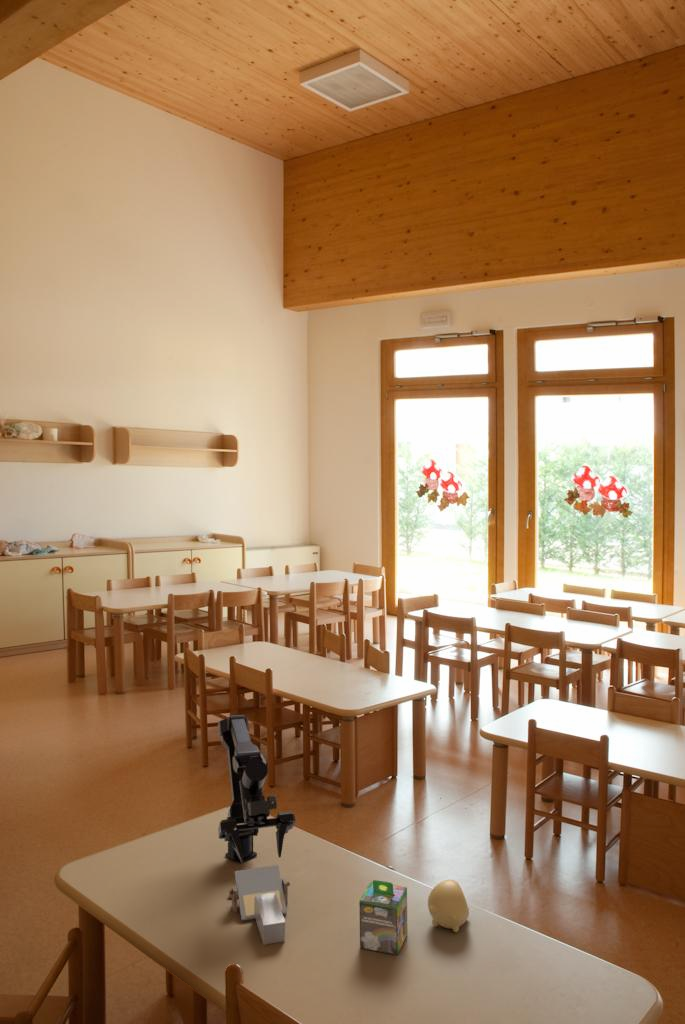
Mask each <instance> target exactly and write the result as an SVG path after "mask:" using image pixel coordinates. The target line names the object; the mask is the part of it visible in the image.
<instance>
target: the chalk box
mask: <svg viewBox="0 0 685 1024" xmlns="http://www.w3.org/2000/svg"><path fill="white" fill-rule="evenodd" d="M358 904H359V905H358V906H359V948H360V949H365V950H369V951H370V950H371V951H374V952H379V953H384V954H388V953H389V955H392V954H394V956H398V954H399V952H400V951H401V949H402V947H403V944H404V942H405V940H406V938H407V935H408V888H407V886H402V885H401V886H400V885H396V884H393V883H392V882H389V881H383V880H377V879H373V880H372V882H370V883H369V885H368V886H367V887H366V889H365V891H364V892H363V894H362V896H361V898H360V900H359V903H358Z"/></svg>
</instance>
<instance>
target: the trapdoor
mask: <svg viewBox="0 0 685 1024" xmlns="http://www.w3.org/2000/svg"><path fill="white" fill-rule="evenodd" d="M234 877H235V886H236V889H237V893H238V897H237V901H238V905H239V913H240V917H241V921H242V922H244V921H249V920H256V919H255V916H254V896H255V895H261V894H268V893H274V892H275V894H276V897H277V900H278V903H279V905H280V908H281V911H282V914H283V915H287V913H288V909H287V905H286V904H285V899H284V893H283V888H282V877H281V873H280V867H279V864H275V865H270V866H269V865H268V866H261V867H254V868H248V869H240V870H235V871H234Z"/></svg>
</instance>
